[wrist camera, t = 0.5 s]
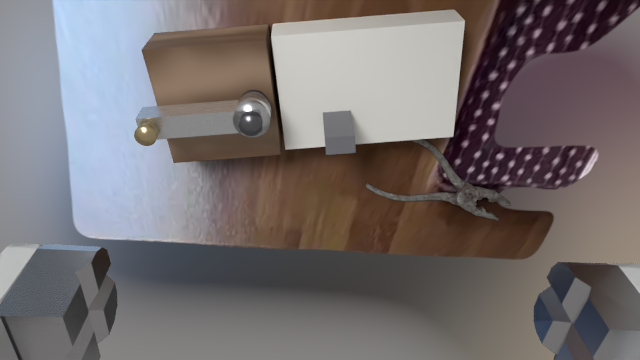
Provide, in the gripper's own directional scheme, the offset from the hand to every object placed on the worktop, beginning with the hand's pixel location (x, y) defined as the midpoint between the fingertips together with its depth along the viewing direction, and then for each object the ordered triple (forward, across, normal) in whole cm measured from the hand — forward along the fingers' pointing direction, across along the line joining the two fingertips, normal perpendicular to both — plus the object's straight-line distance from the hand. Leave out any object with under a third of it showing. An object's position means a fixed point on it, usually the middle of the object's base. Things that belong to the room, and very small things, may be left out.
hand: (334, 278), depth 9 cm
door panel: (+45, -7, +14) cm, 48 cm away
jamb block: (+45, +9, +16) cm, 49 cm away
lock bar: (+39, +9, +16) cm, 43 cm away
